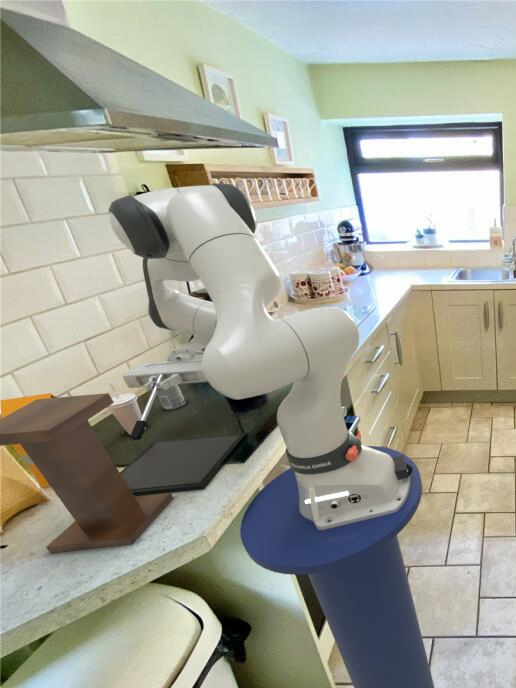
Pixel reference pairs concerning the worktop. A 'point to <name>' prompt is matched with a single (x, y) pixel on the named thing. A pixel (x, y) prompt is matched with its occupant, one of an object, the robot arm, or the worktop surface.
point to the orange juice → (6, 409)
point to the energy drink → (171, 398)
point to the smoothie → (125, 410)
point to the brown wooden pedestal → (81, 472)
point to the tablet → (180, 464)
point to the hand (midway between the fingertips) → (154, 388)
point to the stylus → (145, 413)
